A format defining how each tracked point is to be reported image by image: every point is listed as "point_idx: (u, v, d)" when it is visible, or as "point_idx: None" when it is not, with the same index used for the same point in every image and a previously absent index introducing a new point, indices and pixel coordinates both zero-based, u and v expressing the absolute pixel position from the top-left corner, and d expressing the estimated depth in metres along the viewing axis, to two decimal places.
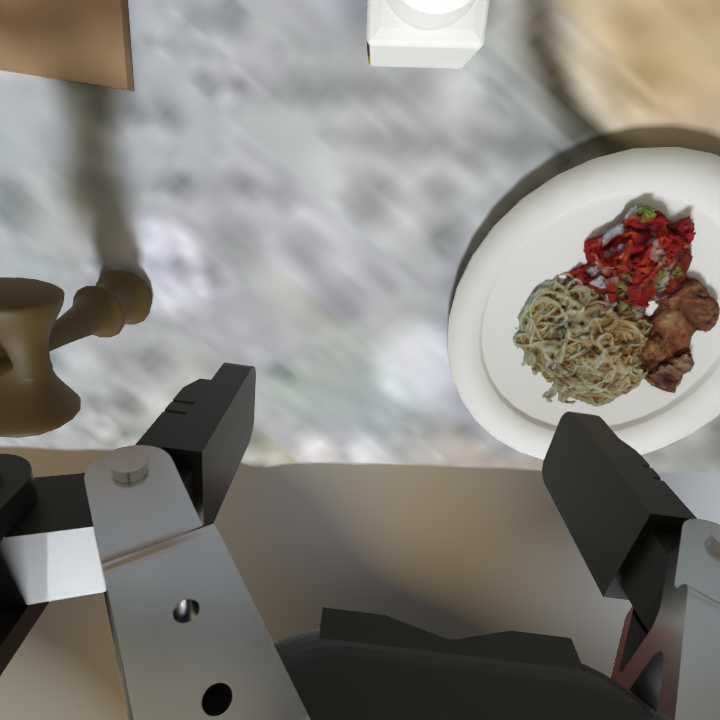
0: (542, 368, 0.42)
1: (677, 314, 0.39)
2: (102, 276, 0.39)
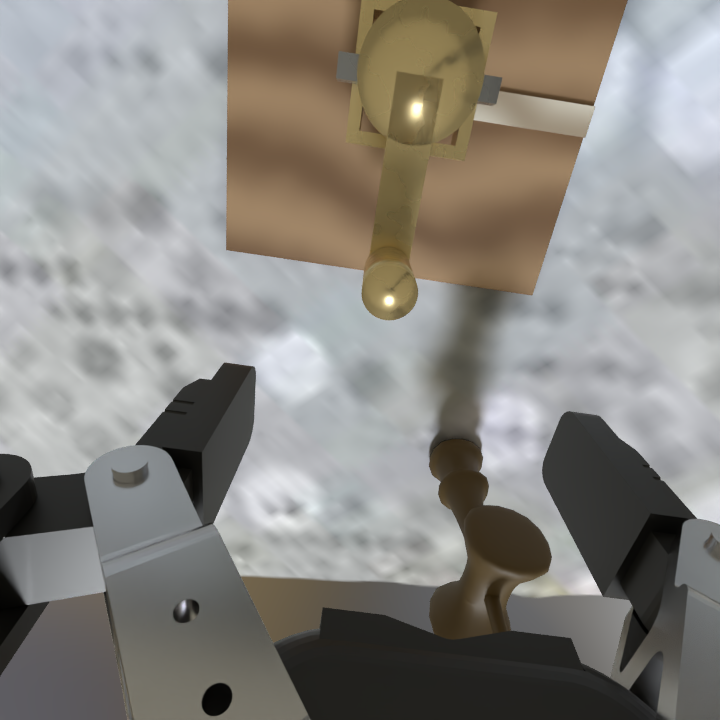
0: None
1: None
2: (445, 445, 0.40)
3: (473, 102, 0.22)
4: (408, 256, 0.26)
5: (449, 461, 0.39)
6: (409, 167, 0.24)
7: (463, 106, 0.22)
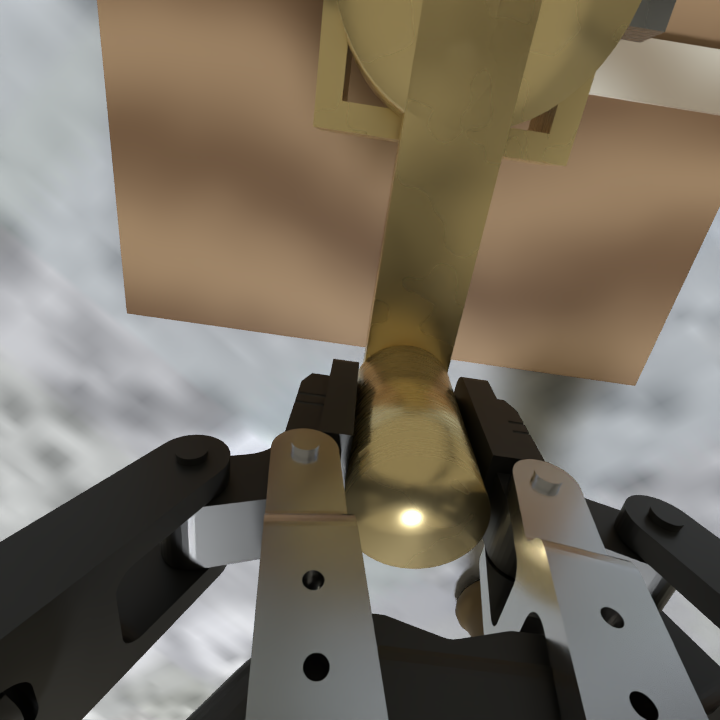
0: None
1: None
2: (480, 589, 0.27)
3: (622, 21, 0.09)
4: (446, 364, 0.12)
5: None
6: (454, 182, 0.10)
7: (595, 33, 0.09)
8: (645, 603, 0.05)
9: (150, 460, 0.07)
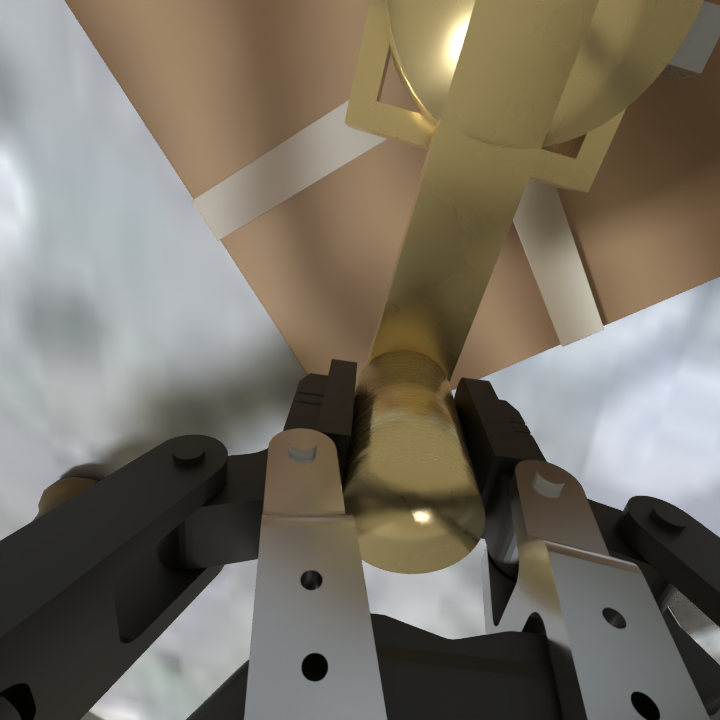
0: None
1: None
2: (87, 486, 0.25)
3: (663, 58, 0.09)
4: (448, 374, 0.12)
5: None
6: (480, 196, 0.10)
7: (636, 67, 0.09)
8: (647, 604, 0.05)
9: (147, 460, 0.07)
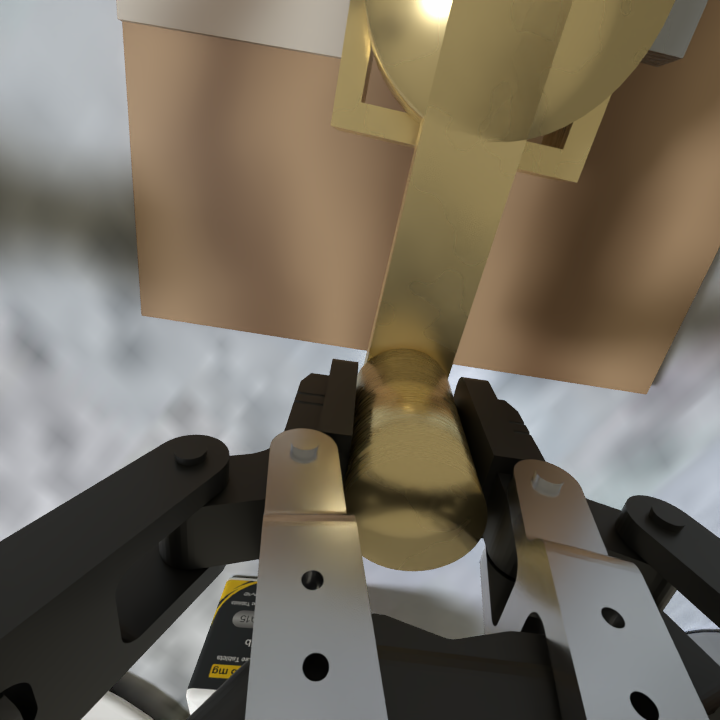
0: None
1: None
2: None
3: (643, 45, 0.09)
4: (446, 370, 0.12)
5: None
6: (468, 190, 0.10)
7: (616, 55, 0.09)
8: (646, 603, 0.05)
9: (149, 460, 0.07)
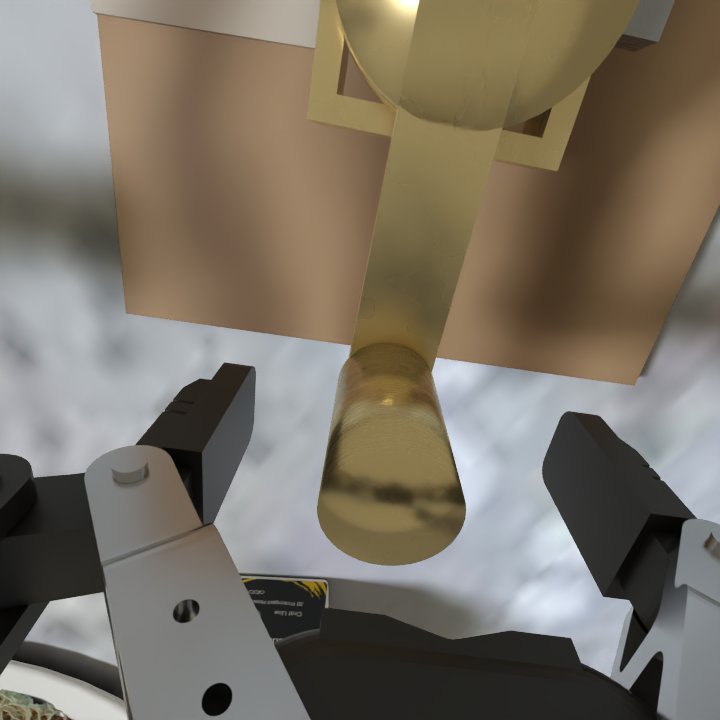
0: None
1: None
2: None
3: (617, 28, 0.09)
4: (430, 364, 0.12)
5: None
6: (444, 181, 0.10)
7: (590, 40, 0.09)
8: None
9: None
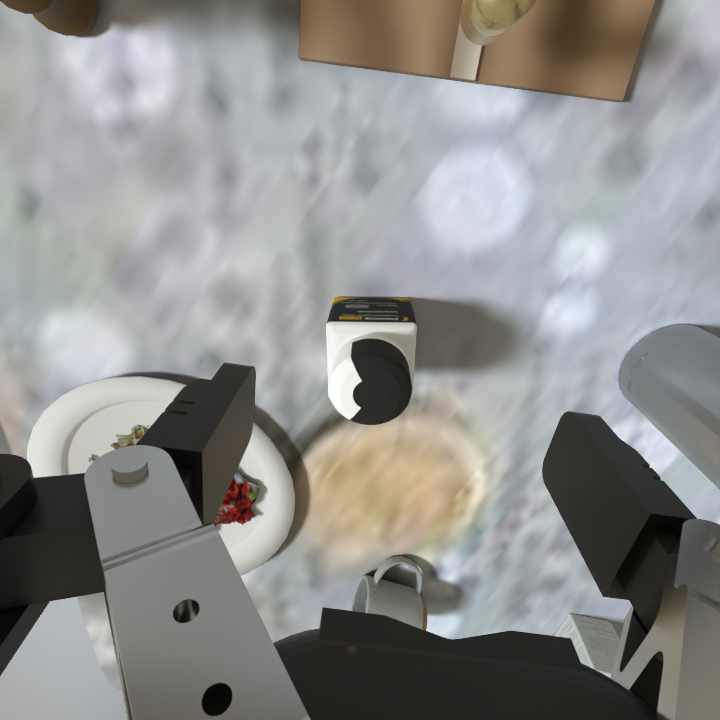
0: None
1: None
2: None
3: None
4: None
5: None
6: None
7: None
8: None
9: None
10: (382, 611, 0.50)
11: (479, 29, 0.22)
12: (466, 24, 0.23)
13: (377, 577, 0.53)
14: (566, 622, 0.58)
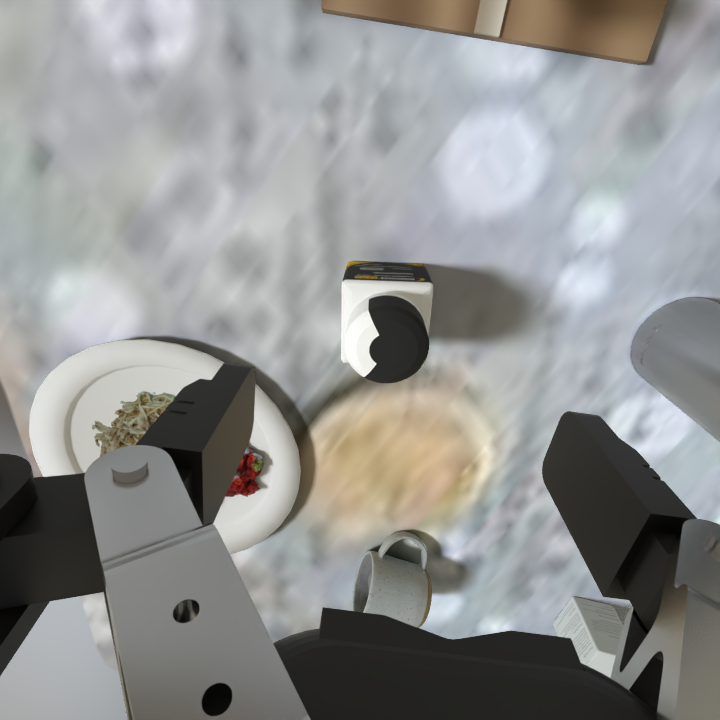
0: (121, 418, 0.47)
1: None
2: None
3: None
4: None
5: None
6: None
7: None
8: None
9: None
10: (387, 585, 0.50)
11: None
12: None
13: (382, 551, 0.52)
14: (568, 605, 0.58)
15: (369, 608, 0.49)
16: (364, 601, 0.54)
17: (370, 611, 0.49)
